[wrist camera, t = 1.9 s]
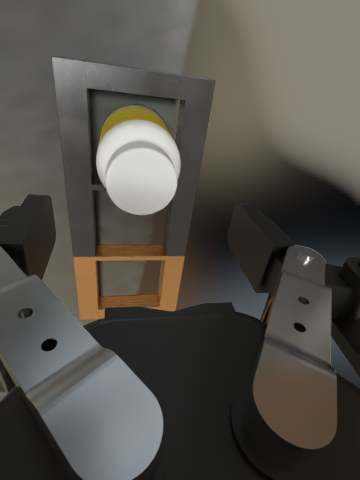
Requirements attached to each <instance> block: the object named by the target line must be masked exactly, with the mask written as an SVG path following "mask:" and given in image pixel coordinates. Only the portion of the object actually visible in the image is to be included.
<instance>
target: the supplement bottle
mask: <svg viewBox="0 0 360 480" xmlns="http://www.w3.org/2000/svg"><path fill="white" fill-rule="evenodd" d="M96 167H97V172H98V175H99V178H100V180H101V182H102V184H103V185H104V187H105V188H106V189H107V192H108V195H109V197H110V198H111V200H112V201H113V202H114V204H115V205H116V206H118V207H119V208H120V209H122V210H124V211H126V212H128V213H131V214H135V215H147V214H152V213H155V212H157V211H159V210H161V209H163V208H164V207H165V206H167V205H168V204H169V202H170V201H171V200H172V198H173V197H174V195H175V192H176V189H177V180H178V177H179V174H180V169H181V159H180V154H179V150H178V148H177V145H176V143H175V141H174V140H173V138H172V136H171V134H170V133H169V131H168V129H167V127H166V126H165V124H164V122H163V120H162V119H161V117H160V116H159V115H158V114H157V113H156V112H155V111H154V110H152V109H151V108H149V107H147V106H145V105H142V104H137V103H129V104H124V105H121V106H119V107H117V108H116V109H114V110H113V111H112V112H111V113H110V114H109V115H108V117H107V118H106V120H105V122H104V124H103V127H102V131H101V135H100V140H99V144H98V148H97V155H96Z"/></svg>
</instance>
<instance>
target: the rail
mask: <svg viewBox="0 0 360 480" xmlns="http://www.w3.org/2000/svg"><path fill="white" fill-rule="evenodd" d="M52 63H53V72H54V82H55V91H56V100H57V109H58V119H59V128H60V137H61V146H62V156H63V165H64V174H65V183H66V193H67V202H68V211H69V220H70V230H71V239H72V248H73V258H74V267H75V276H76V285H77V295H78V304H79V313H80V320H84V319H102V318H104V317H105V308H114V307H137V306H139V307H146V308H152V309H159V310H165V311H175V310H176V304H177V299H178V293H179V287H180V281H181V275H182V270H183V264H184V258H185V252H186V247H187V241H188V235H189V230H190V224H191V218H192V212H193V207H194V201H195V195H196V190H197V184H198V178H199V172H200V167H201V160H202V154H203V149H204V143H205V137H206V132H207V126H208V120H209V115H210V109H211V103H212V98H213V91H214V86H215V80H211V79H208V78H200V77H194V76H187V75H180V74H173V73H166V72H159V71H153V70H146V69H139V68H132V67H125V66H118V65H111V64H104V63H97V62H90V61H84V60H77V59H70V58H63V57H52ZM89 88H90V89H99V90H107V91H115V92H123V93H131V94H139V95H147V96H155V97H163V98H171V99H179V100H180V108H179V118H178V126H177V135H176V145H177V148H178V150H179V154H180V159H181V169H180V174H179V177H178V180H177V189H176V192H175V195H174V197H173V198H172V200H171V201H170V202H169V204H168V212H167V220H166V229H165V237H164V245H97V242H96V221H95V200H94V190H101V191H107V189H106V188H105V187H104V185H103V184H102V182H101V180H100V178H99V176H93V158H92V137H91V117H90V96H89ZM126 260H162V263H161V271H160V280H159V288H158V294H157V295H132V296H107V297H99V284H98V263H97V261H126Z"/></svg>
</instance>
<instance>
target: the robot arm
mask: <svg viewBox="0 0 360 480" xmlns="http://www.w3.org/2000/svg"><path fill="white" fill-rule="evenodd" d="M55 239H56V229H55V222H54V214H53V207H52V200H51V197H50V196H49V195H30V194H29V195H28V196H27V197H26V199H25V200H24V202H23V203H22V205H21V206H13V207H11V208H10V209H8V210H6V211H4V212H3V213H2V214H1V216H0V381H1V383H2V385H3V387H4V389H5V391H6V393H7V395H6V396H4V397H3V398H2V399H1V400H0V480H360V388H358V387H357V386H355V385H354V384H352V383H351V382H350V381H348V380H346V379H345V378H344V377H342V376H341V375H340V374H338V373H337V372H336V371H335V369H334V368H333V367H332V366H331V336H332V338H333V339H334V341H335V342H336V344H337V345H338V347H339V348H340V350H341V351H342V352H343V354H344V355H345V357H346V358H347V360H348V361H349V363H350V364H351V365H352V367H353V368H354V370H355V371H356V373H357V374H358V376H359V377H360V317H359V316H360V258H359V257H348V258H347V259H346V261H345V262H344V264H343V266H342V267H341V266H335V265H331V264H326V262H325V259H324V258H323V257H322V256H321V255H320V254H319V253H318V252H316V251H314V250H312V249H310V248H307V247H303V246H295V245H294V244H293V243H292V241H291V240H290V239H289V238H288V237H287V236H286V235H285V234H284V233H282V231H281V230H280V229H279V228H278V227H277V225H276V224H275V223H274V222H273V221H272V220H270V219H269V218H267V217H266V216H264V215H263V214H262V213H261V212H260V211H259V210H258V209H257V208H256V207H255V206H254V205H252V204H237V205H236V206H235V208H234V211H233V215H232V219H231V223H230V226H229V230H228V236H227V241H228V245H229V247H230V248H231V250H232V252H233V254H234V256H235V257H236V259H237V261H238V263H239V264H240V266H241V268H242V269H243V271H244V273H245V274H246V276H247V278H248V280H249V282H250V283H251V285H252V287H253V289H254V290H255V292H256V293H269V295H268V298H267V300H266V303H265V306H264V309H263V312H262V315H261V318H260V320H258V319H257V318H254V317H252V316H249V315H246V314H243V313H239V312H235V309H234V307H233V305H232V303H231V302H229V303H206V304H200V305H196V306H192V307H189V308H185V309H181V310H177V311H165V310H159V309H152V308H146V307H139V306H137V307H114V308H105V317H104V318H103V319H100V320H97V321H94V322H91V323H89V324H87V325H85V326H82V325H81V324H80V323H79V321H78V320H77V319H76V318H75V317H74V316H73V315H72V314H71V313H70V311H69V310H68V309H67V308H66V307H65V306H64V305H63V304H62V303H61V301H60V300H59V299H58V298H57V297H56V296H55V295H54V294H53V293H52V291H51V290H50V289H49V288H48V287H47V286H46V285H45V284H44V283H43V281H42V278H43V275H44V273H45V270H46V267H47V264H48V261H49V258H50V256H51V253H52V250H53V247H54V244H55Z"/></svg>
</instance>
